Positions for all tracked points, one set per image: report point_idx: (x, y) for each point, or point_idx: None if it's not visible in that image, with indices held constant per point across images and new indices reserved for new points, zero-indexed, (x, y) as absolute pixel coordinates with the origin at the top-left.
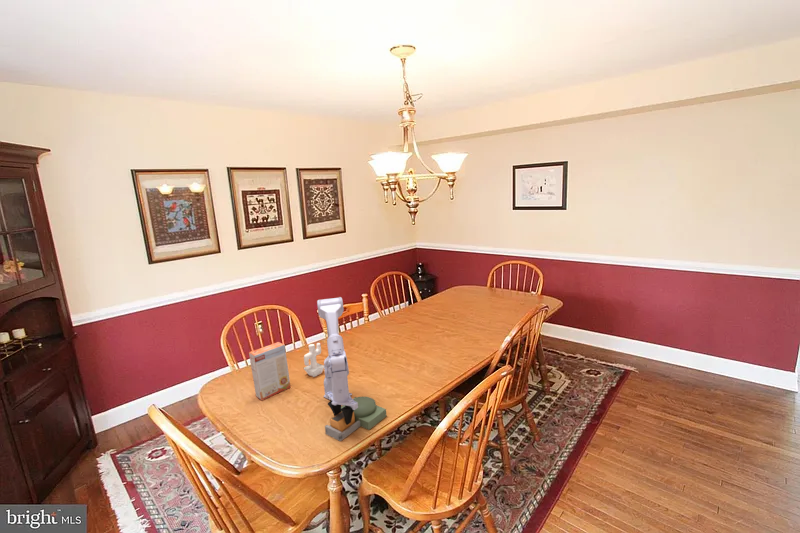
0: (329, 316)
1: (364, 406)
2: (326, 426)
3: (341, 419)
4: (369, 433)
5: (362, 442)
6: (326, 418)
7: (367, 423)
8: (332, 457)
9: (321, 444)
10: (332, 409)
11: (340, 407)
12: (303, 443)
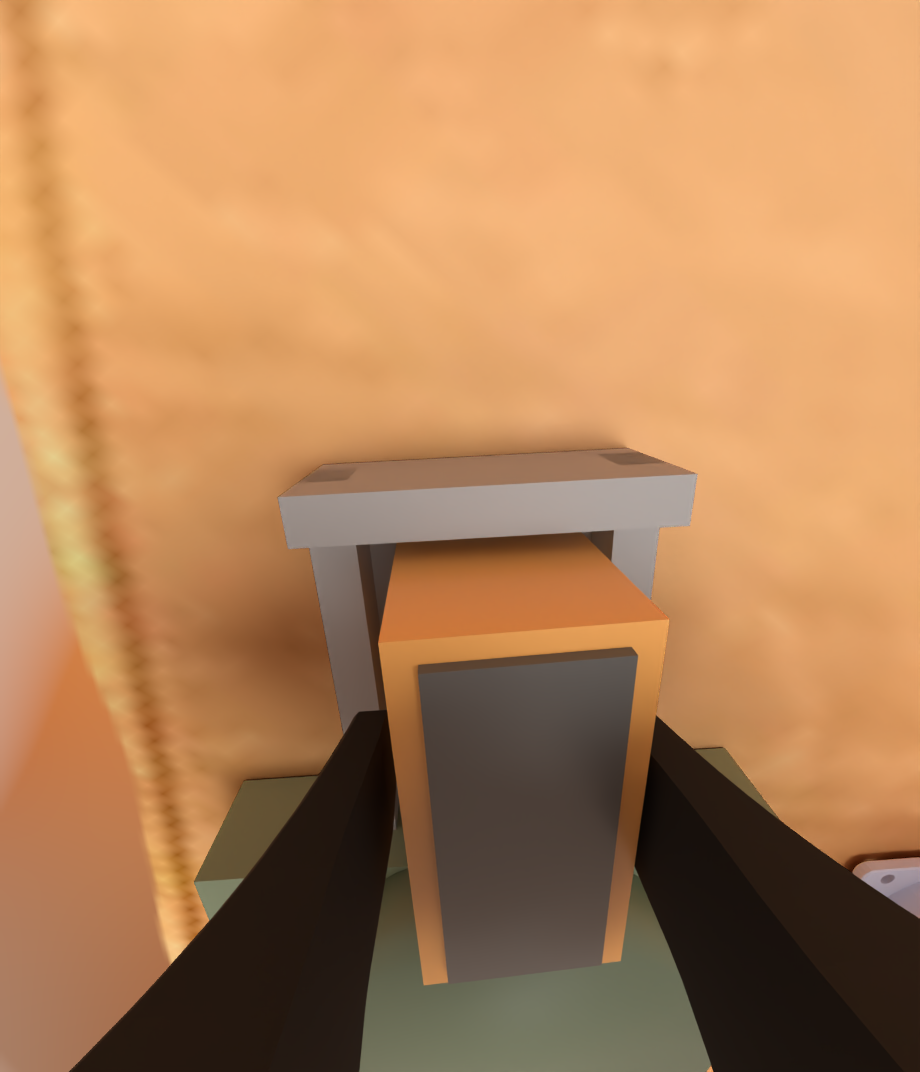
0: None
1: (429, 1067)
2: (659, 486)
3: (414, 756)
4: (189, 751)
5: (95, 616)
6: (830, 651)
7: (221, 859)
8: (67, 98)
9: (498, 229)
10: (843, 922)
11: (697, 1004)
12: (801, 19)
